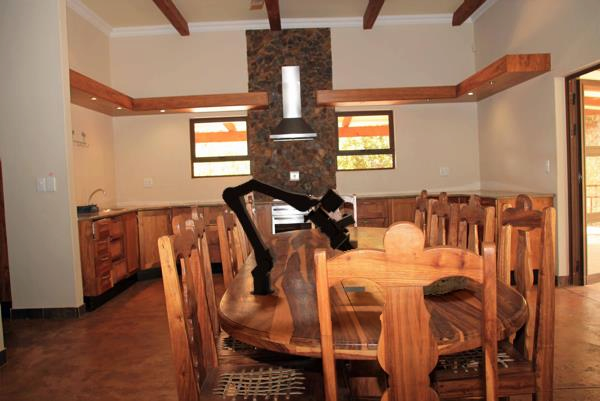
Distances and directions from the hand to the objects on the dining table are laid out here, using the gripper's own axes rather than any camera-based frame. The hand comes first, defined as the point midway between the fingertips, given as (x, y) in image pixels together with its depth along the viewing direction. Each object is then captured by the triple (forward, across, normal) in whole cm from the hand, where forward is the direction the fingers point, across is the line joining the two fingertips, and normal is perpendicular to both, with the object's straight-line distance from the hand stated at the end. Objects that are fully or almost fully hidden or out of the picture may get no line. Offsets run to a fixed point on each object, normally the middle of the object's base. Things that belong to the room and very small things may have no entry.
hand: (357, 255), depth 157 cm
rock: (+28, +4, -10) cm, 30 cm away
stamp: (+3, 0, +5) cm, 6 cm away
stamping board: (+5, 0, +13) cm, 14 cm away
